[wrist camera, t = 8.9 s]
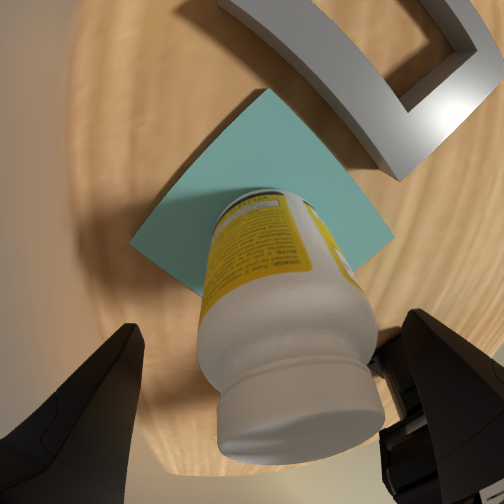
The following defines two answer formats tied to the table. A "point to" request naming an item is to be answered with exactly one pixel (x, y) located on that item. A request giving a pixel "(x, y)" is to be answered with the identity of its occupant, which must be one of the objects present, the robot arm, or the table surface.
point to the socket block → (372, 83)
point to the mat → (256, 178)
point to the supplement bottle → (285, 335)
